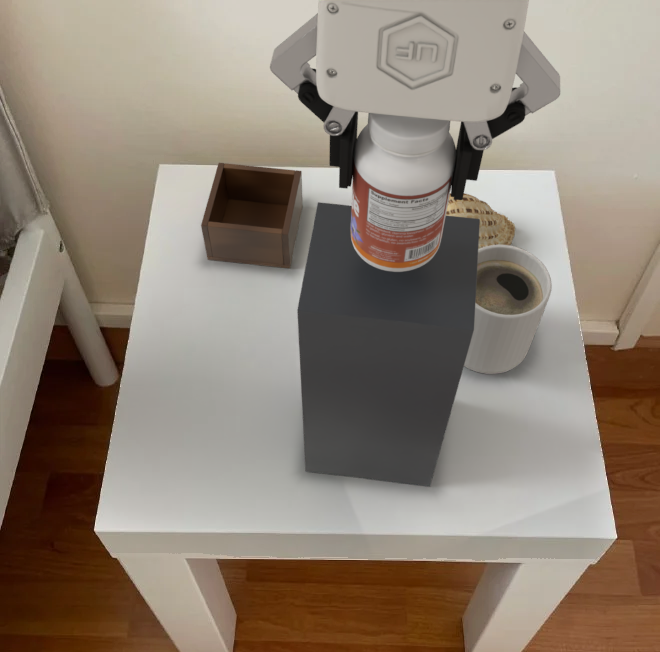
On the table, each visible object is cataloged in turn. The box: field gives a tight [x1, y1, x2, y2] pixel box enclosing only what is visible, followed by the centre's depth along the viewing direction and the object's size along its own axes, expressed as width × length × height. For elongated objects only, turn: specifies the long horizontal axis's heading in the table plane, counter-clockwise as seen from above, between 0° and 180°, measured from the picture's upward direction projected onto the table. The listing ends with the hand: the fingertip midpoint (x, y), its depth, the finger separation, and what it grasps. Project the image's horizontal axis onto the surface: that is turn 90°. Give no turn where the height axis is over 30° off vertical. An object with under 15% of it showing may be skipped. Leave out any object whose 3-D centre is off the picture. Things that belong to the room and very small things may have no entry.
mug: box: [464, 245, 553, 375], centre depth 81 cm, size 11×10×10 cm
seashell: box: [446, 192, 516, 249], centre depth 90 cm, size 8×6×10 cm
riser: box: [296, 201, 480, 488], centre depth 68 cm, size 12×10×26 cm
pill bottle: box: [351, 113, 457, 272], centre depth 50 cm, size 6×6×11 cm
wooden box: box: [200, 162, 304, 269], centre depth 90 cm, size 9×9×6 cm
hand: (402, 175), depth 50 cm, fingers closed on pill bottle, 6 cm apart
